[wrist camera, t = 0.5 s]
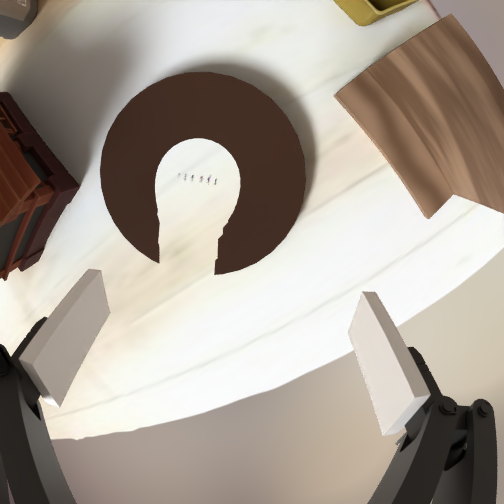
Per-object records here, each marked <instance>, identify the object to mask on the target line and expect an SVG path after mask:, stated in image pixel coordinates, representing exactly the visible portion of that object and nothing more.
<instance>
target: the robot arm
mask: <svg viewBox="0 0 504 504" xmlns="http://www.w3.org/2000/svg"><path fill="white" fill-rule="evenodd" d="M109 314H110V310H109V306H108V302H107V297H106V293H105V288H104V283H103V278H102V273H101V270H95V269H88V270H87V271H86V273H85V274H84V275H83V276H82V277H81V278H80V279H79V281H78V282H77V283H76V284H75V285H74V286H73V288H72V289H71V290H70V291H69V292H68V294H67V295H66V296H65V297H64V299H63V300H62V301H61V302H60V303H59V305H58V306H57V307H56V308H55V310H54V311H53V312H52V314H51V315H50V316H49V317H48V318H47V317H43V318H42V319H41V320H39V321H38V322H36V324H35V325H34V326H33V327H32V329H31V330H30V332H29V333H28V334H27V335H26V338H24V339H23V341H22V342H21V344H20V345H19V346H18V348H17V349H16V351H15V352H14V353H13V355H12V356H11V357H10V355H9V353H8V351H7V350H6V348H5V347H4V346H3V345H2V344H0V504H10V501H9V493H8V484H7V480H8V483H9V487H10V490H11V493H12V496H13V499H14V502H15V504H77V503H76V502H75V499H74V497H73V495H72V493H71V491H70V489H69V487H68V484H67V482H66V480H65V477H64V475H63V473H62V470H61V468H60V465H59V462H58V460H57V457H56V455H55V452H54V449H53V446H52V443H51V440H50V437H49V433H48V430H47V427H46V423H45V420H44V416H43V412H42V408H41V404H40V402H39V400H38V399H39V397H40V395H41V396H42V397H43V399H44V400H45V401H46V403H49V404H51V405H54V406H56V407H59V408H60V406H61V404H62V402H63V400H64V398H65V396H66V394H67V392H68V390H69V387H70V385H71V383H72V381H73V379H74V378H75V376H76V374H77V372H78V370H79V368H80V366H81V364H82V362H83V360H84V358H85V357H86V355H87V353H88V351H89V349H90V347H91V346H92V344H93V342H94V340H95V338H96V337H97V335H98V333H99V331H100V330H101V328H102V326H103V324H104V323H105V321H106V319H107V318H108V316H109ZM348 335H349V338H350V340H351V343H352V346H353V348H354V351H355V354H356V357H357V359H358V362H359V365H360V368H361V371H362V374H363V376H364V379H365V382H366V385H367V388H368V391H369V394H370V397H371V400H372V403H373V406H374V409H375V412H376V416H377V419H378V422H379V425H380V428H381V431H382V435H383V436H385V435H390V434H395V433H398V432H399V431H400V430H401V429H402V428H403V427H404V426H405V427H406V430H407V432H406V433H405V434H404V435H403V436H402V437H401V438H400V439H399V440H398V441H397V443H396V445H398V444H399V443H400V442H401V443H400V445H399V447H398V449H397V451H396V453H395V455H394V457H393V459H392V461H391V463H390V465H389V467H388V469H387V471H386V473H385V475H384V477H383V478H382V480H381V482H380V484H379V485H378V487H377V489H376V491H375V492H374V494H373V496H372V497H371V499H370V500H369V502H368V504H430V503H431V500H432V498H433V501H432V504H496V493H497V492H496V491H497V441H496V428H495V418H494V411H493V407H492V406H491V404H490V403H489V402H488V401H486V400H484V399H478V400H476V401H474V403H473V404H472V405H471V406H459V405H457V403H456V402H455V401H454V400H453V399H451V398H450V397H447V396H443V395H442V394H441V392H440V390H439V388H438V386H437V384H436V382H435V380H434V378H433V376H432V374H431V372H430V371H429V368H428V366H427V365H426V364H425V361H424V359H423V357H422V355H421V354H420V353H419V352H418V351H417V350H416V349H415V348H414V347H407V346H406V345H405V343H404V341H403V339H402V337H401V336H400V334H399V332H398V330H397V328H396V326H395V325H394V323H393V321H392V319H391V318H390V316H389V314H388V312H387V311H386V309H385V307H384V306H383V304H382V302H381V300H380V299H379V297H378V295H377V294H376V292H362V294H361V297H360V300H359V303H358V306H357V309H356V312H355V314H354V317H353V320H352V323H351V325H350V328H349V331H348ZM466 444H467V448H466Z"/></svg>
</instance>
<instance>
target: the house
mask: <svg viewBox="0 0 504 504" xmlns="http://www.w3.org/2000/svg"><path fill="white" fill-rule="evenodd" d="M79 188H80V186H79V184H78V183H77V182H76V181H75V179H74V178H73V177H72V176H71V175H70V174H69V173H68V171H67V170H66V169H65V167H64V166H63V165H62V164H61V163H60V161H59V160H58V159H57V158H56V156H55V155H54V154H53V153H52V151H51V150H50V149H49V147H48V146H47V145H46V144H45V142H44V141H43V140H42V138H41V137H40V136H39V135H38V134H37V132H36V130H35V129H34V128H33V126H32V125H31V124H30V122H29V121H28V120H27V118H26V117H25V115H24V114H23V113H22V111H21V110H20V108H19V107H18V105H17V104H16V103H15V101H14V100H13V98H12V97H11V95H10V94H9V93H8V92H0V279H1V278H3V279H4V281H6V280H7V277H8V274H9V272H11V271H12V270H14V269H16V268H17V267H18V268H19V269H20V271H22V272H23V271H24V270H26V269H27V268H29V267H30V266H32V265H33V264H35V263H36V262H38V261H39V259H40V257H41V255H42V253H43V251H44V248H43V247H44V245H45V243H46V241H47V239H48V237H49V235H50V234H51V232H52V230H53V227H54V226H55V224H56V223H57V221H58V219H59V217H60V215H61V214H62V212H63V210H64V209H65V207H66V205H67V204H68V203H70V202H71V201H72V199H73V198H74V196H75V194H76V193H77V191H78V190H79Z"/></svg>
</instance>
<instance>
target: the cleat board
mask: <svg viewBox="0 0 504 504" xmlns="http://www.w3.org/2000/svg"><path fill="white" fill-rule="evenodd" d="M334 97H335V98H336V99H337V100H338V102H339V103H340V104H341V105H342V106H343V107H344V108H345V109H346V110H347V112H348V113H349V114H350V115H351V116H352V117H353V118H354V120H355V121H356V122H357V123H358V124H359V125H360V127H361V128H362V129H363V130H364V131H365V133H366V134H367V135H368V136H369V138H370V139H371V140H372V141H373V143H374V144H375V145H376V146H377V148H378V149H379V150H380V152H381V153H382V154H383V156H384V157H385V158H386V160H387V161H388V162H389V164H390V165H391V166H392V168H393V169H394V171H395V172H396V173H397V175H398V176H399V178H400V179H401V181H402V182H403V184H404V185H405V187H406V188H407V190H408V191H409V193H410V194H411V196H412V197H413V199H414V200H415V202H416V203H417V205H418V207H419V208H420V210H421V211H422V213H423V215H424V216H425V217H426V218H427V219H429V218H431V217H432V216H433V215H434V214H435V213H436V212H437V211H438V210H439V209H440V208H441V207H442V206H443V204H444V203H445V202H446V201H447V200H448V199H449V198H450V197H451V196H452V195H453V194H454V195H457V196H460V197H463V198H465V199H468V200H471V201H474V202H476V203H479V204H481V205H484V206H487V207H489V208H492V209H494V210H496V211H499V212H501V213H504V89H503V87H502V86H501V84H500V82H499V80H498V79H497V77H496V75H495V74H494V72H493V70H492V69H491V67H490V65H489V64H488V62H487V61H486V59H485V58H484V56H483V55H482V53H481V52H480V50H479V49H478V48H477V46H476V45H475V43H474V42H473V40H472V39H471V38H470V36H469V35H468V34H467V32H466V31H465V30H464V28H463V27H462V26H461V25H460V23H459V22H458V21H457V20H456V19H455V18H454V16H453V15H452V14H450V15H448V16H446V17H444V18H443V19H441V20H439V21H438V22H436V23H434V24H433V25H431V26H430V27H428V28H426V29H425V30H423V31H422V32H420V33H418V34H417V35H415V36H414V37H412V38H411V39H409V40H408V41H406V42H405V43H403V44H402V45H400V46H399V47H397V48H396V49H394V50H393V51H391V52H390V53H388V54H387V55H385V56H384V57H383V58H381V59H380V60H378V61H377V62H375V63H374V64H373V65H371V66H370V67H369V68H367V69H366V70H365V71H364V72H362V73H361V74H360V75H359V76H357V77H356V78H355V79H354V80H352V81H351V82H350V83H349V84H347V85H346V86H345V87H344V88H342V89H341V90H340V91H339V92H338V93H336V94H335V95H334Z"/></svg>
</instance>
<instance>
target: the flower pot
mask: <svg viewBox="0 0 504 504" xmlns="http://www.w3.org/2000/svg"><path fill="white" fill-rule="evenodd" d="M334 1H335V3H336V4H337V5H338V6H339V7H340V8H341V9H342V10H343V11H344V12H345V13H346V14H347V15H348V16H349V17H350V18H351V19H352V20H353V21H354V22H355V23H356V24H357V25H359V26H367V25H370V24H371V23H373V22H375V21H377V20H380V19H382V18H384V17H386V16H388V15H391V14H393V13H396V12H398V11H401V10H403V9H404V8H406V7H408V6H409V5H411V4H413V3H415V2H416V1H418V0H334Z"/></svg>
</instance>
